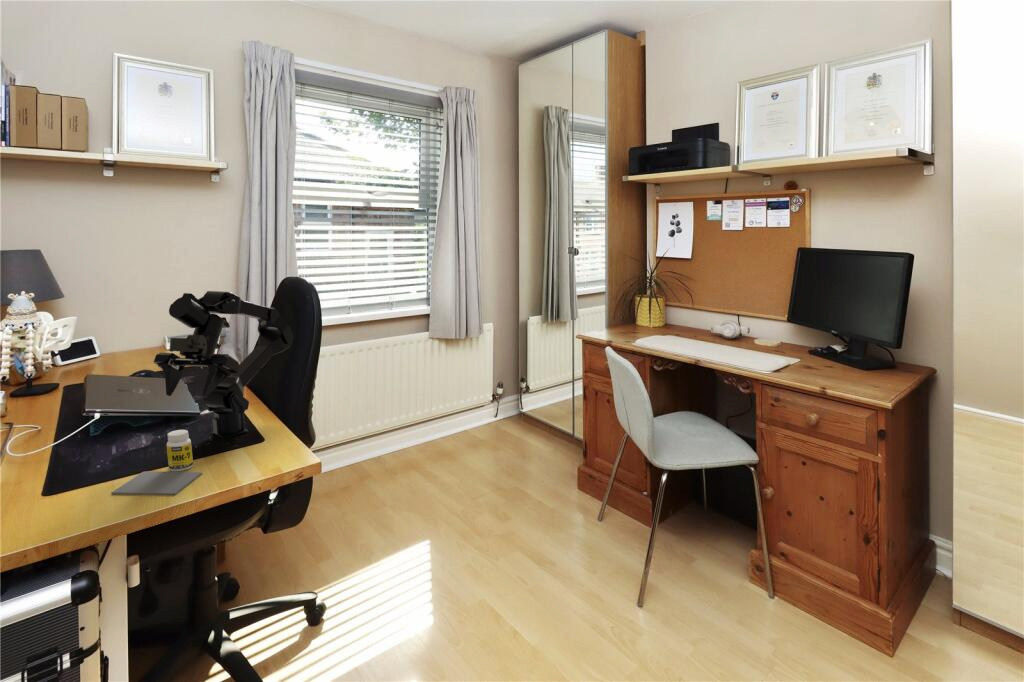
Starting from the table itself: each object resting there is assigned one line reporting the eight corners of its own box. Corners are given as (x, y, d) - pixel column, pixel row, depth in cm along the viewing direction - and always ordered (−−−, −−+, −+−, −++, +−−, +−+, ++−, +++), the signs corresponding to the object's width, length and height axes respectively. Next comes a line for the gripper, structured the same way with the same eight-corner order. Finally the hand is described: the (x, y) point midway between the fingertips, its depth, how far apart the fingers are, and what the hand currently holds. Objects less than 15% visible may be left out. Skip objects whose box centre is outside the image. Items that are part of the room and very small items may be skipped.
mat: (144, 473, 121) (143, 471, 121) (202, 473, 121) (202, 472, 121) (111, 494, 112) (111, 492, 112) (175, 495, 112) (175, 493, 112)
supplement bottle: (171, 473, 121) (167, 438, 120) (167, 467, 125) (163, 432, 123) (195, 468, 124) (192, 433, 123) (190, 461, 128) (187, 427, 126)
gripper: (149, 321, 129) (125, 383, 123) (222, 322, 127) (202, 385, 121) (179, 341, 139) (158, 399, 133) (247, 342, 137) (230, 401, 131)
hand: (186, 396), depth 129 cm, fingers open, 9 cm apart
